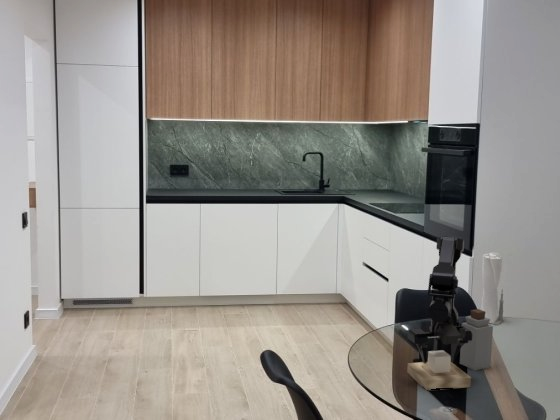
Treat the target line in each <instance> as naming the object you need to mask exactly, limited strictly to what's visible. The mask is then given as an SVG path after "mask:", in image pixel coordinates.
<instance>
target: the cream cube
mask: <svg viewBox="0 0 560 420" xmlns="http://www.w3.org/2000/svg"><path fill="white" fill-rule="evenodd" d="M427 362H428V366H427V367H428V368H429V369H430V370H431V371H433V372H434V373H444V372H450V362H452V359H451V355H449V354H447V353H446V352H445V351H444V350H441V351H435V350H430V351H427Z"/></svg>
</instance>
